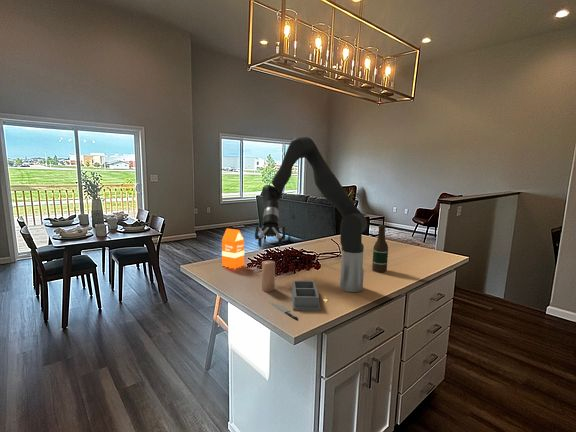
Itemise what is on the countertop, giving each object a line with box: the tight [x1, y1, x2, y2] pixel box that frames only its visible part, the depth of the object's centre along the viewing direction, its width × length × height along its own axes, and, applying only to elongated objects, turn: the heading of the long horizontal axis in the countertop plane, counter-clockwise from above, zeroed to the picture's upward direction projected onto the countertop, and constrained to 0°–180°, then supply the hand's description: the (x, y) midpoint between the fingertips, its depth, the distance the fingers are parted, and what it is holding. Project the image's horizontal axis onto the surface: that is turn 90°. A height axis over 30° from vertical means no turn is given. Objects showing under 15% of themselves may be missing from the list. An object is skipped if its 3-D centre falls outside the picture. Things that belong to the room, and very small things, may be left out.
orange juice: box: [221, 228, 245, 270], centre depth 162 cm, size 8×9×20 cm
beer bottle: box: [371, 224, 389, 274], centre depth 160 cm, size 8×8×24 cm
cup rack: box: [291, 280, 321, 312], centre depth 123 cm, size 10×20×4 cm, turn 1°
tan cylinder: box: [261, 260, 276, 293], centre depth 132 cm, size 6×6×12 cm
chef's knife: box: [268, 301, 299, 321], centre depth 114 cm, size 19×1×3 cm
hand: (269, 246), depth 141 cm, fingers open, 8 cm apart
